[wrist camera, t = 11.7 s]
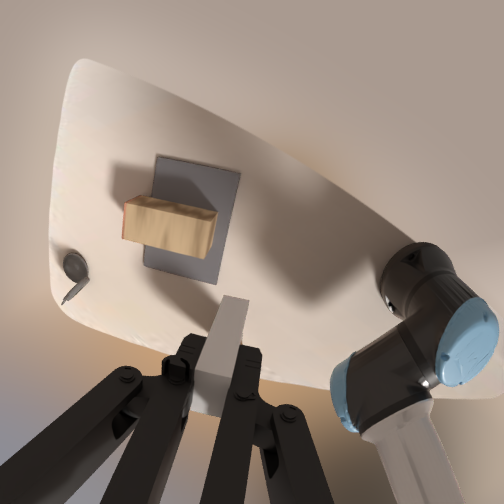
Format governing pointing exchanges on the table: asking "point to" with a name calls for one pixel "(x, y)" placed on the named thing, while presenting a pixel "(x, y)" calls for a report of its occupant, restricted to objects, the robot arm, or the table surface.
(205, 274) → the rubber mat
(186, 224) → the oak block
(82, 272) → the pocket watch
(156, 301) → the table surface
